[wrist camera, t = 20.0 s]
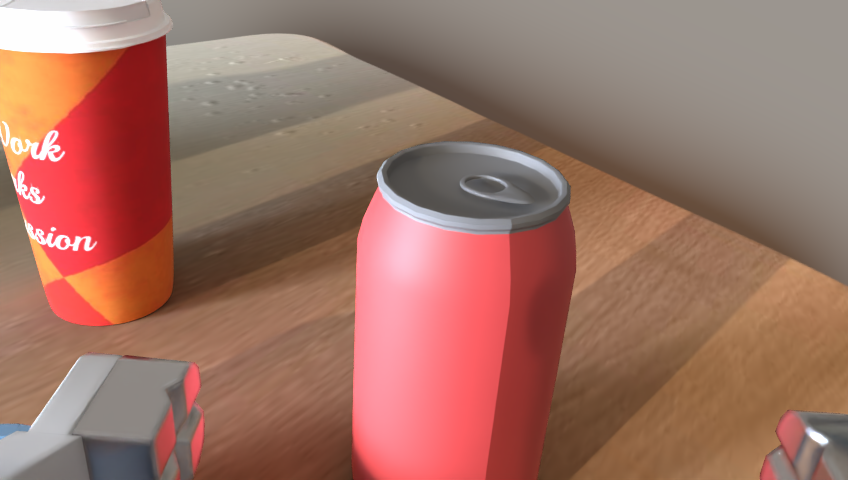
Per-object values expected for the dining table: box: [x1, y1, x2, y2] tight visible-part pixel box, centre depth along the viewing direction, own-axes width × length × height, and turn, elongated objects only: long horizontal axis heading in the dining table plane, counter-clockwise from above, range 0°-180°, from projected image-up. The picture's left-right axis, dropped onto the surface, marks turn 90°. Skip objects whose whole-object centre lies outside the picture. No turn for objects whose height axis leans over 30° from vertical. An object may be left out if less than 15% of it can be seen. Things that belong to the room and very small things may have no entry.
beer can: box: [351, 141, 576, 480], centre depth 25 cm, size 7×7×12 cm
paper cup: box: [0, 0, 174, 326], centre depth 34 cm, size 8×8×14 cm
